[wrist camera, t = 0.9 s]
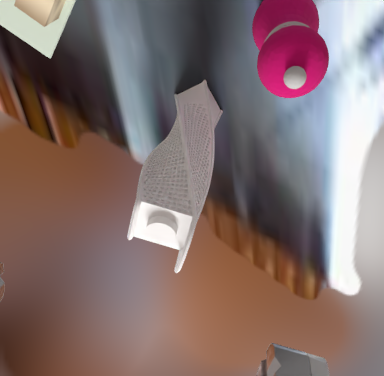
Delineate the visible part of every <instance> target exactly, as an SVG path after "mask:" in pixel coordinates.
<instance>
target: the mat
mask: <svg viewBox="0 0 384 376" xmlns="http://www.w3.org/2000/svg"><path fill="white" fill-rule="evenodd" d="M15 1H16V0H0V25H2V26H3V27H5V28H6V29H7V30H9V31H10V32H12V33H13V34H15V35H16V36H18V37H19V38H21V39H22V40H23V41H25V42H26V43H28V44H29V45H31V46H32V47H34V48H35V49H37V50H38V51H40V52H41V53H42V54H44V55H45V56H47V57H48V58H50V59H51V57H52V55H53V53H54V50H55V48H56V46H57V43H58V41H59V39H60V36H61V34H62V32H63V29H64V27H65V25H66V22H67V20H68V18H69V15H70V13H71V11H72V8H73V6H74V4H75V1H76V0H66V2H65V4H64V6H63V9H62V11H61V14H60V16H59V19H57V20H55V21H54V22H52V23H50V24H49V25H47V26H45V27H44V26H42V25H41V24H39V23H38V22H37V21H35V20H34V19H32V18H31V17H29V16H28V15H27V14H25V13H24V12H22V11H21V10H20V9H18V8H17V7H15V6H14V4H15Z"/></svg>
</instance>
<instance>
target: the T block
mask: <svg viewBox="0 0 384 376" xmlns="http://www.w3.org/2000/svg"><path fill="white" fill-rule="evenodd" d="M65 2H66V0H16V1H15V4H14V6H15V7H17V8H18V9H20V10H21V11H22V12H24V13H25V14H27V15H28V16H29V17H31V18H32V19H34V20H35V21H37V22H38V23H39V24H41V25H42V26H44V27H45V26H47V25H49V24H50V23H52V22H54V21H55V20H57V19H59V16H60V14H61V11H62V9H63V6H64V4H65Z"/></svg>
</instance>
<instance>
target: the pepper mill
mask: <svg viewBox="0 0 384 376" xmlns="http://www.w3.org/2000/svg"><path fill="white" fill-rule="evenodd" d="M318 28H319V16H318V11H317V8H316V5H315V4H314V2H313V1H312V0H263V1H262V3H261V5H260V6H259V8H258V10H257V11H256V14H255V16H254V20H253V27H252V30H253V36H254V40H255V43H256V46H257V47H258V49H259V50H260V52H259V55H258V62H257V69H258V74H259V77H260V80H261V82H262V83H263V85H264V86H265V87H266V89H267V90H269V91H270V92H271V93H273V94H275V95H277V96H279V97H284V98H295V97H299V96H303V95H305V94H307V93H309V92H311V91H312V90H313V89H315V88H316V87H317V86H318V84H319V83H320V82H321V80H322V79H323V78H324V76H325V73H326V71H327V67H328V61H329V55H328V49H327V46H326V44H325V41H324V40H323V38H322V37H321V36H320V35H319V34H318V33H317V32H318Z"/></svg>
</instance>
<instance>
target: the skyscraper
mask: <svg viewBox="0 0 384 376" xmlns="http://www.w3.org/2000/svg"><path fill="white" fill-rule="evenodd" d="M174 96H175V101H176V107H177V117H176V121H175V123H174V126H173V128H172V130H171V132H170V133H169V135H168V136H167V138H166V139H165V140H164V141H163V142H161V143H160V144H159V145H158V146H157V147H156V148H155V149H154V150H153V151H152V152H151V154H150V155H149V156H148V158H147V159H146V161H145V163H144V165H143V168H142V171H141V174H140V178H139V183H138V189H137V197H136V202H135V205H134V209H133V213H132V217H131V221H130V226H129V230H128V235H127V238H128V239H129V240H131V239H132V238H133V236H134V237H137V238H141V239H144V240H148V241H151V242H154V243H158V244H161V245H165V246H168V247H171V248H174V249H178V250H179V254H178V258H177V262H176V266H175V269H174V270H175V273H178V272H179V271H180V269H181V267H182V265H183V262H184V260H185V257H186V255H187V252H188V249H189V246H190V243H191V240H192V237H193V234H194V230H195V227H196V223H197V221H198V218H199V216H200V213H201V211H202V208H203V205H204V202H205V199H206V196H207V193H208V190H209V186H210V181H211V177H212V171H213V163H214V128H215V126H216V124H217V122H218V120H219V118H220V116H221V114H222V112H223V111H222V110H220V108H219V106H218V104H217V103H216V101H215V99H214V97H213V95H212V93H211V92H210V90H209V88H208V86H207V82H206V80H203V82H202V83H200V84H198V85H196V86H194V87H192V88H190V89H188V90H186V91H184V92H182V93H180V94H175V95H174Z"/></svg>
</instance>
